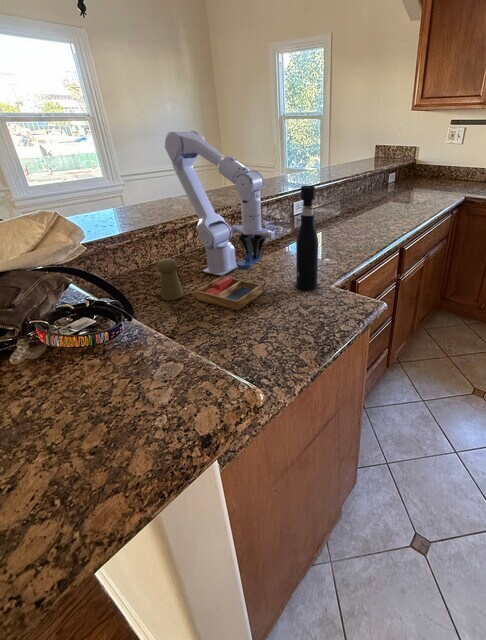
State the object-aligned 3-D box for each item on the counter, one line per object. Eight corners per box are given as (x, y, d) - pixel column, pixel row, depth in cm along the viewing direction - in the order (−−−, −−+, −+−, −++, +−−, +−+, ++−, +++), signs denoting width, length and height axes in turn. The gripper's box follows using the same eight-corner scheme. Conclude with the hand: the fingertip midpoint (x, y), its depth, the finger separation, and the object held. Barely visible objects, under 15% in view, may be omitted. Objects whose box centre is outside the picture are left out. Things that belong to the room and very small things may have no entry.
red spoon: (225, 283, 108) (224, 274, 107) (237, 286, 107) (236, 277, 105) (202, 297, 100) (201, 287, 99) (214, 300, 98) (213, 291, 97)
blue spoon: (253, 257, 114) (253, 248, 113) (265, 259, 112) (264, 251, 111) (234, 268, 106) (233, 259, 104) (246, 271, 104) (245, 261, 103)
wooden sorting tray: (223, 283, 110) (222, 275, 109) (262, 292, 104) (262, 284, 103) (196, 299, 100) (195, 291, 99) (238, 310, 95) (237, 301, 93)
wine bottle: (320, 284, 110) (323, 186, 97) (311, 292, 105) (313, 189, 92) (302, 280, 113) (302, 184, 100) (292, 288, 107) (291, 187, 94)
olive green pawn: (176, 301, 99) (170, 264, 94) (157, 299, 100) (149, 262, 95) (187, 292, 104) (181, 257, 99) (168, 290, 105) (162, 255, 100)
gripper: (223, 214, 104) (227, 257, 110) (265, 220, 98) (266, 265, 104) (237, 209, 110) (240, 250, 115) (277, 215, 104) (278, 258, 110)
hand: (253, 257), depth 110 cm, fingers closed on blue spoon, 2 cm apart
